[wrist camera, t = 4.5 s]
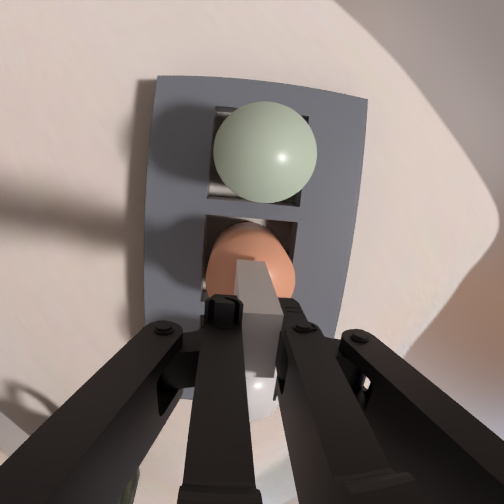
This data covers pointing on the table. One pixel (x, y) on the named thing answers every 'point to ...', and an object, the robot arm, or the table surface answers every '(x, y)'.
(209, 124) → the button board
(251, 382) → the grey button
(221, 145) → the sage button
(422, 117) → the table surface
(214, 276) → the terracotta button
